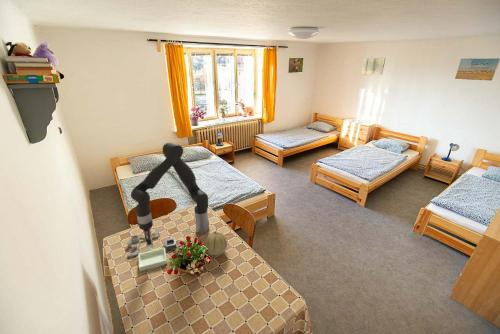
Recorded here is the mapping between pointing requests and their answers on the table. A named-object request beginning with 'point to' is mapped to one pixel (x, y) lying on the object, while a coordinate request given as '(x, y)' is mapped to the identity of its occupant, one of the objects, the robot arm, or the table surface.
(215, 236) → the cantaloupe
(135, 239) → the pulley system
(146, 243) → the lock pin
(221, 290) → the table surface
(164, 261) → the tray
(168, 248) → the tensioner block
